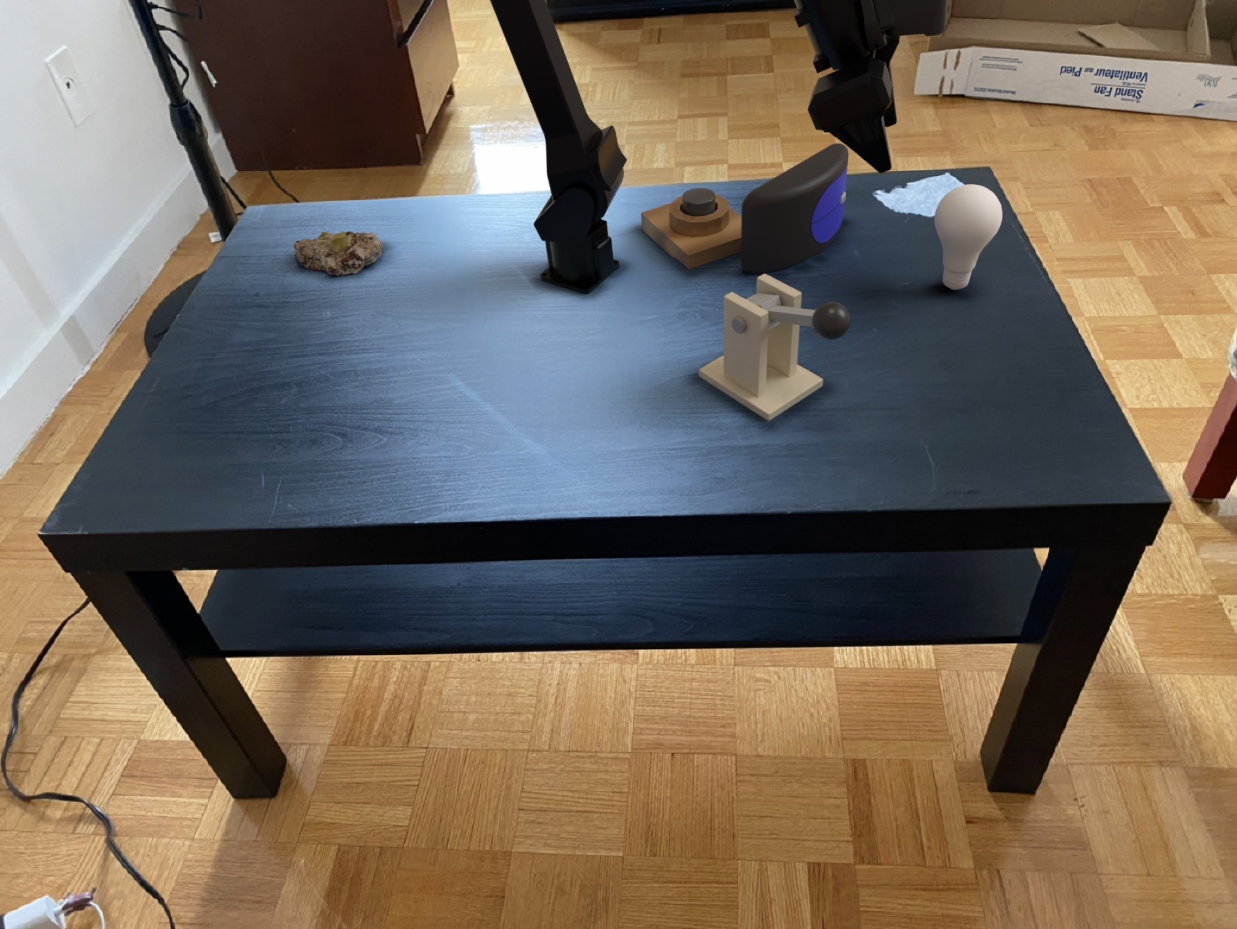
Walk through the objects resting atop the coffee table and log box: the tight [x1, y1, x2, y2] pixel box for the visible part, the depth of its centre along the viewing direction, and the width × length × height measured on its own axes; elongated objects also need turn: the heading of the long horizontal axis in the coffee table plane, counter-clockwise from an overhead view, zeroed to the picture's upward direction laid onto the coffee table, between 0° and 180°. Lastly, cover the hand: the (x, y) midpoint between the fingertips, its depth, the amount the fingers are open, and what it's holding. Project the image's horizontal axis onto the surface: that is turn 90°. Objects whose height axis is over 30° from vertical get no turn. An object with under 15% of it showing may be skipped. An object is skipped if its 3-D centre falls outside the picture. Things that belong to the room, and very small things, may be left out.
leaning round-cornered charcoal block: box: [740, 142, 850, 275], centre depth 101 cm, size 16×5×9 cm, turn 134°
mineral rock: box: [293, 230, 385, 277], centre depth 110 cm, size 11×4×8 cm
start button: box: [681, 187, 716, 217], centre depth 104 cm, size 4×4×2 cm
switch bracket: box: [698, 273, 824, 422], centre depth 84 cm, size 9×7×10 cm
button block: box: [640, 193, 742, 270], centre depth 106 cm, size 11×9×4 cm
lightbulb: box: [933, 183, 1003, 291], centre depth 93 cm, size 6×6×11 cm
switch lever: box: [745, 292, 851, 341], centre depth 79 cm, size 11×3×3 cm, turn 39°
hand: (889, 147), depth 86 cm, fingers open, 9 cm apart
